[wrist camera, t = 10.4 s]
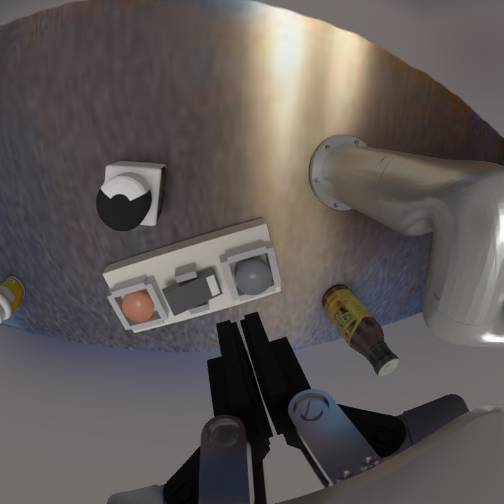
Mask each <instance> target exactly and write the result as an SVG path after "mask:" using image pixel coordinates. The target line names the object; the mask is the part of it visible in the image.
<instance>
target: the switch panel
mask: <svg viewBox="0 0 504 504" xmlns="http://www.w3.org/2000/svg"><path fill="white" fill-rule="evenodd" d="M254 256H256V257H259V258H261V259H263V260H264V261H265V263H266V264H267V266H268V268H269V269H270V271H271V273H272V282H271V285H270V286H269V288H268V289H267V290H266V291H265V292H263V293H261V294H258V295H247V294H245V293H243V292H242V291H240V289H239V288H238V285H237V282H236V279H235V275H234V271H235V267H236V265H237V264H238V263H239V262H240V261H241V260H244V259H247V258H250V257H254ZM211 267H212V268H213V269H214V270H215V272H216V275H217V278H218V281H219V284H220V287H221V290H222V293H223V294H221V295H219V296H217V297H215V298H213V299H211V300H209V301H206V302H204V303H202V304H200V305H198V306H196V307H194V308H191V309H189V310H187V311H185V312H183V313H181V314H178V315H176V316H174V315H173V313H172V311H171V309H170V306H169V304H168V302H167V300H166V298H165V296H164V293H163V291H162V289H164V288H166V287H168V286H170V285H173V284H175V283H179V282H182V281H186V280H189V279H192V278H196V277H197V273H199V272H202V271H204V270H206V269H208V268H211ZM103 276H104V278H105V280H106V282H107V284H108V286H109V288H110V291H109V294H108V296H107V298H108V299H109V301H110V303H111V305H112V307H113V308H114V310H115V312H116V314H117V316H118V317H119V319H120V321H121V322H122V324H123V326H124V327H125V329H126V330H128V329H132V331H134V333H136V332H140V331H144V330H148V329H152V328H156V327H160V326H164V325H167V324H171V323H175V322H179V321H182V320H186V319H190V318H193V317H197V316H201V315H204V314H208V313H211V312H215V311H218V310H221V309H225V308H228V307H232V306H235V305H238V304H242V303H245V302H248V301H252V300H255V299H258V298H261V297H264V296H268V295H271V294H274V293H277V292H280V291H281V290H280V286H281V281H280V276H279V271H278V266H277V262H276V257H275V252H274V247H273V246H272V244H271V242H270V237H269V233H268V228H267V224H266V222H265V221H264V220H263V219H262V218H259V219H256V220H252V221H249V222H245V223H242V224H238V225H235V226H231V227H228V228H224V229H221V230H218V231H214V232H211V233H208V234H204V235H201V236H198V237H194V238H191V239H188V240H185V241H181V242H178V243H175V244H172V245H169V246H165V247H162V248H159V249H156V250H153V251H150V252H146V253H143V254H140V255H137V256H134V257H131V258H128V259H125V260H122V261H119V262H116V263H113V264H110V265H107V267H106V269H105V271H104V272H103ZM142 289H147V291H148V293H149V295H150V297H151V299H152V301H153V303H154V311H153V315H152V316H151V318H150V319H148V320H146V321H143V322H137V321H133V320H131V319H129V318H128V317H127V316H126V315H125V314H124V312H123V310H122V302H123V299H124V296H125V294H129V293H132V292H136V291H139V290H142Z"/></svg>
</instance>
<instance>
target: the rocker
mask: <svg viewBox="0 0 504 504" xmlns="http://www.w3.org/2000/svg"><path fill="white" fill-rule="evenodd" d="M162 291H163V293H164V296H165V298H166V300H167V302H168V304H169V306H170V309H171V311H172V313H173V315H174V316H176V315H178V314H181V313H183V312H185V311H187V310H189V309H191V308H194V307H196V306H198V305H200V304H202V303H204V302H206V301H209V300H211V299H213V298H215V297H217V296H219V295H221V294H223V293H222V290H221V287H220V284H219V281H218V278H217V275H216V272H215V270H214V269H213V268H212V267H211V268H208V269H206V270H204V271H202V272H199V273H197V277H196V278H192V279H189V280H186V281H182V282H179V283H175V284H173V285H170V286H168V287H166V288H164V289H162Z"/></svg>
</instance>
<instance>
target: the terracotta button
mask: <svg viewBox="0 0 504 504" xmlns="http://www.w3.org/2000/svg"><path fill="white" fill-rule="evenodd" d="M122 310H123V312H124V314H125V315H126V316H127V317H128V318H129V319H131V320H133V321H137V322H143V321H146V320H148V319H150V318H151V316H152V315H153V311H154V303H153V301H152V299H151V297H150V295H149V293H148V291H147V289H142V290H139V291H136V292H132V293H129V294H125V296H124V299H123V302H122Z"/></svg>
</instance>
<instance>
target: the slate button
mask: <svg viewBox="0 0 504 504" xmlns="http://www.w3.org/2000/svg"><path fill="white" fill-rule="evenodd" d="M234 275H235V279H236V282H237V285H238V288H239V289H240V291H242V292H243V293H245V294H247V295H258V294H261V293H263V292H265V291H266V290H267V289H268V288H269V286H270V285H271V282H272V273H271V271H270V269H269V268H268V266H267V264H266V263H265V261H264V260H263V259H261V258H259V257H256V256H254V257H250V258H247V259H244V260H241V261H240V262H239V263H238V264H237V265H236V267H235V271H234Z"/></svg>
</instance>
